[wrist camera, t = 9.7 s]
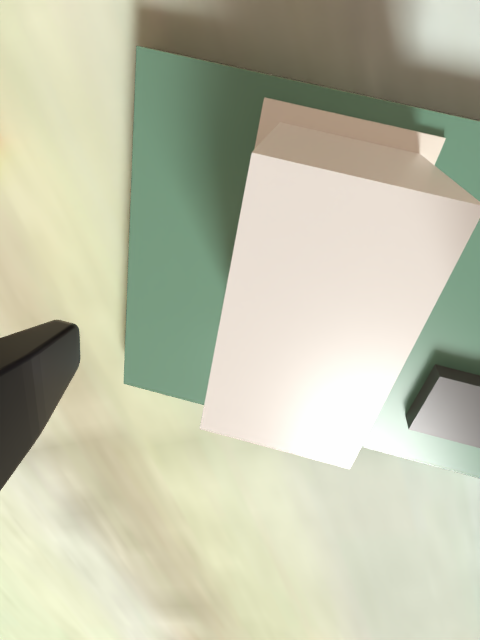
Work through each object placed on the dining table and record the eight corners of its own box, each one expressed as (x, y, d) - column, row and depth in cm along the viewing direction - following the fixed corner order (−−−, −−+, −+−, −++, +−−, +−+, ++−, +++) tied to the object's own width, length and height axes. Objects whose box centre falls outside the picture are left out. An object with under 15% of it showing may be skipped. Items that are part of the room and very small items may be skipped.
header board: (773, 185, 12) (897, 215, 10) (521, 471, 20) (552, 533, 17) (150, 48, 14) (107, 40, 11) (133, 368, 21) (105, 411, 18)
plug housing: (419, 153, 12) (485, 206, 7) (341, 348, 17) (349, 469, 11) (280, 121, 13) (251, 152, 8) (237, 322, 17) (199, 428, 12)
